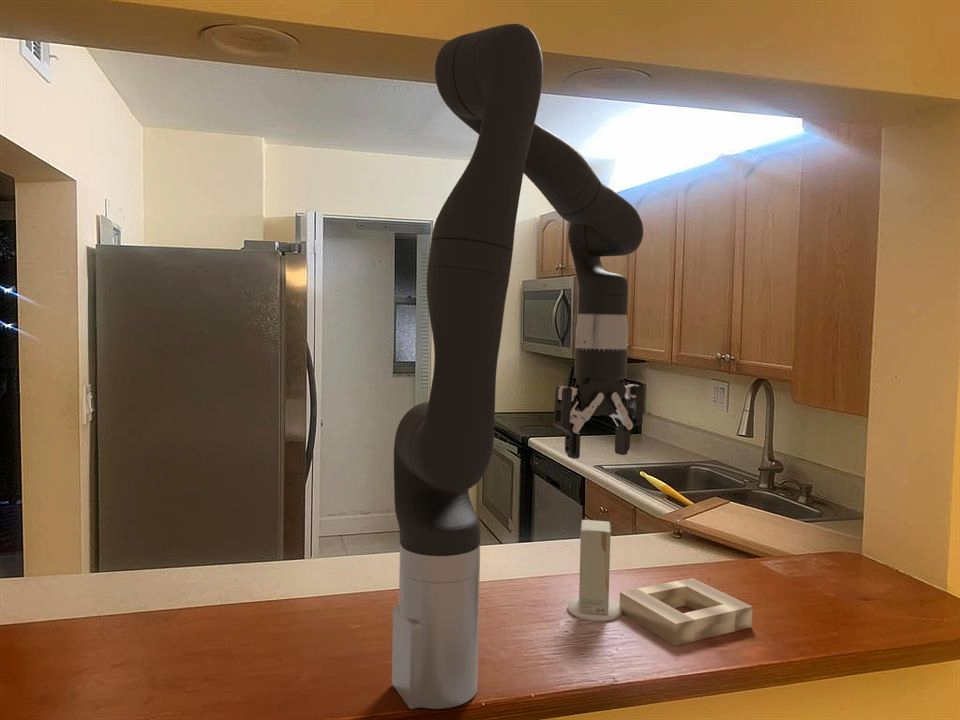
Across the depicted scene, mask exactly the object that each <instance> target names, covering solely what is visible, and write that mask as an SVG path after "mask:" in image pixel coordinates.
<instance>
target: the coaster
mask: <svg viewBox="0 0 960 720" xmlns="http://www.w3.org/2000/svg"><path fill="white" fill-rule="evenodd" d="M619 605H620V602H617V601H616V600H614V599H612V598H609V607H608V614H607V615H604V614H593V613H582V612H579V596H575V597H573V598H571V599H569V601H568V602H567V610H568V612H569V613H570V614H571V615H572V616H574V617H576V618H578V619H582V620H586V621H590V622H601V623H602V622H611V621H615V620H617V619H619V618H621V616H622V615H623V614H622V609H621V608H619Z"/></svg>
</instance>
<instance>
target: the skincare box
mask: <svg viewBox="0 0 960 720" xmlns="http://www.w3.org/2000/svg"><path fill="white" fill-rule="evenodd" d="M611 528H612V527H611V522H610V521H605V520H594V519H593V520H592V519H582V520H581V524H580V545H579V547H580V550H579V583H578V584H579V585H578V586H579V588H578V589H579V592H578V597H579V612H582V613H593V614H604V615H607V614H608V607H609V599H610V596H609V595H610V569H611V568H610V565H611V563H610V562H611V561H610V559H611V557H610V556H611V533H612V532H611V530H612V529H611Z"/></svg>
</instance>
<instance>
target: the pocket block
mask: <svg viewBox="0 0 960 720" xmlns="http://www.w3.org/2000/svg"><path fill="white" fill-rule="evenodd" d="M619 604H620V605H619V608H621V609H622V615H624V616H625V615H626V617H627V618H629V619H631V620H632V621H634V622H635V621H636V622H635V623H637V624H639V625H640V626H642V627H643V626H644V628H645V629H647V630H648V631H650V632H651V633H654V634H655V635H656V636H658V637H660V638H661V639H663V640H665V642H668V643H670V644H671V645H673V646H675V647H676V646H680V645H684V644H688V643H693V642H697V641H701V640H705V639H709V638H713V637H717V636H721V635H724V634H729V633H733V632H737V631H742V630H745V629H750V628H752V626H753V625H752V624H753V605H750V604H748V603H746V602H744V601H743V600H742V601H741V600H739V599H737V598H735V597H734V596H731V595H729V594H727V593H726V592H722V591H721V590H718V589H717V588H714V587H712V586H710V585H708V584H706V583H703V582H701V581H699V580H697V579H695V578H693V577H690V578H685V579H681V580H679V579H678V580H674V581H669V582H665V583H660V584H654V585H649V586H644V587H639V588H638V587H637V588H633V589H628V590H623V591H622V590H621V591H619ZM685 606H686V607H688V608H690V609H692V611H687V612H684V613H683V612H681V611H680V610H678V609H676V608H680V607H685Z"/></svg>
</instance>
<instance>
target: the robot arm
mask: <svg viewBox="0 0 960 720" xmlns="http://www.w3.org/2000/svg"><path fill="white" fill-rule="evenodd" d="M540 46H541V45H540V43H539V41H538V38H537V37H536V35H535V33H534V32H533V31H532V30H531V28H529V27H527V26H525V25H524V24H521V23H506V24H501V25H496V26H493V27H488V28H484V29H480V30H477V31H473V32H470V33H469V32H468V33H466V34H461V35H459V36H457V37H454V38H452V39H450V40H448V41H446V43H444V45H442V46H441V48H440V50H439V51H438V53H437V56H436V60H435V66H434V78H435V83H436V87H437V90H438V93H439V95H440V97H441V99H442V100H443V102H444V103H445V105H446V107H448V109H449V110H450V111H451V112H452V114H454V115H455V117H457V118H458V119H459V120H460V121H462V122H463V123H464V124H466V126H468V128H470V129H471V130H472V131H474V132H475V133H477V134H478V139H477V142H476V145H475V148H474V151H473V153H472V156H471V158H470V160H469V162H468V164H467V166H466V168H465V169H464V172H463V173H462V174H461V176H460V177H459V179H458V180H457V182H456V183H455V185H454V187H453V188H452V190H451V191H450V193H449V195H448V197H447V198H446V200H445V202H444V204H443V205H442V207H441V208H440V211H439V213H438V215H437V217H436V219H435V222H434V226H433V228H432V232H431V233H432V234H431V241H430V247H429V255H428V263H427V269H426V271H427V272H426V299H427V307H428V315H429V322H430V326H431V327H430V328H431V333H432V340H433V348H434V358H433V359H434V362H433V364H434V365H433V374H432V381H431V388H430V392H429V393H430V394H429V399H428V401H425V402H421V403H418V404H417V405H414V406H412V408H410V409H409V410H408V411H406V412H405V414H404V415H403V417H402V418H401V420H400V421H399V424H398V426H397V428H396V432H395V437H394V444H393V492H394V495H393V496H394V498H393V499H394V511H395V516H396V520H397V524H398V528H399V573H398V575H399V577H398V578H399V579H398V580H399V583H398V584H399V587H398V589H399V591H398V592H399V593H398V604H395V605H393V606H392V647H391V648H392V650H391V651H392V657H391V658H392V659H391V662H392V664H391V665H392V666H391V667H392V668H391V669H392V670H391V685H392V687H393V688H394V690H396V692H397V693H398V695H399V696H400V697H401V699H402V700H403V702H404V703H405V704H406V706H407V707H408V709H410V710H414V709H418V708H419V709H420V708H423V709H431V710H441V709H451V708H454V707H458V706H461V705H463V704H466V703H467V702H469V701H470V700H472V699H473V698H474V697H475V695H476V694H477V693H478V683H479V681H478V680H479V679H478V677H479V625H480V622H479V620H480V617H479V616H480V576H481V575H480V573H481V572H480V570H481V567H480V566H481V522H480V519H479V517H478V515H477V513H476V511H475V509H474V507H473V504H472V501H471V499H470V498H471V497H470V494H469V493H470V492H469V490H470V489H471V488H473V487H475V485H477V483H479V481H481V479H482V478H483V476H484V475H485V474H486V472H487V470H488V468H489V466H490V464H491V460H492V456H493V451H494V444H495V443H494V442H495V422H496V421H495V419H496V418H495V417H496V415H495V414H496V411H495V410H496V384H497V367H498V359H499V351H500V345H501V344H500V343H501V339H502V331H503V323H504V316H505V315H504V313H505V309H506V308H505V307H506V299H507V294H508V288H509V282H510V275H511V270H512V269H511V268H512V262H513V261H512V259H513V252H514V243H515V242H514V241H515V230H516V224H517V223H516V222H517V218H518V217H517V215H518V208H519V201H520V197H521V196H520V195H521V191H522V186H523V185H522V184H523V179H524V175H525V176H526V177H527V178H528V179H529V180H530V182H532V183H533V185H534V186H535V187H536V188H537V189H538V190H539V191H540V193H541V194H542V195H543V196H544V197H545V199H546V200H547V201H548V203H549V204H550V205H551V206H552V208H553V209H554V210H555V211H556V212H557V214H558V215H559V216H560V217H561V218H562V219H563V220H564V221H566V222H568V223H569V225H568V244H569V248H570V253H571V256H572V261H573V264H574V271H575V274H576V278H577V283H578V304H577V305H578V309H577V310H578V312H577V321H576V325H575V326H576V327H575V344H574V345H575V348H574V350H575V351H574V376H575V379H576V381H575V385H574V387H570V386H563V385H557V386H556V387H555V396H554V409H553V420H552V424H553V426H554V427H556V428H559V429H562V431H564V451H565V454H566V455H567V457H568V458H571V459H574V460H576V459H577V460H578V459H579V458H580V457H581V433H580V431H581V429H582V427H583V426H584V425H585V423H586V422H588V421H589V420H590V419H591V417H600V416H602V415H604V416H609V417H610V418H612V421H613V422H614V423H615V425H616V426H617V428H615V431H614V432H615V433H614V453H615V454H617V455H620V456H626V455H627V456H628V452H629V451H630V447H631V431H632V429H633V428H634V427H635V426H641V425H642V424H643V419H644V416H643V387H642V386H641V385H638V384H633V383H631V384H630V383H627V385H625V379H626V378H627V375H628V374H627V373H628V372H627V371H628V349H629V348H628V346H629V344H628V343H629V327H628V315H627V314H628V300H629V299H628V294H629V292H628V291H629V290H628V288H629V285H628V280H627V278H626V277H625V276H624V275H623V274H619V273H615V272H610V271H606V269H605V268H604V266H603V264H602V260H601V257H625V256H628V255H630V254H632V253H634V252H635V251H636V250H638V248H639V247H640V245H641V243H642V241H643V237H644V225H643V222H642V221H643V220H642V218H641V216H640V214H639V212H638V211H637V209H636V208H635V207H634V206H633V205H632V204H631V203H630V202H629V201H628V200H627V199H625V198H624V197H623V196H622V195H620V194H618V193H617V192H616V191H614V190H613V189H612V188H611V187H609V186H607V185H606V184H604V183H603V182H601V180H600V179H599V177H598V176H597V174H596V172H595V171H594V170H593V168H592V167H591V166H590V165H589V163H588V161H587V159H586V158H584V156H583V155H582V154H581V153H580V152H579V151H578V150H577V149H576V148H575V147H574V146H572V145H571V144H570V143H568V142H567V141H565V140H564V139H562V138H561V137H559V136H557V135H556V134H554V133H553V132H551V131H549V130H548V129H546V128H544V127H542V126H541V125H539V124H538V123H537V122H536V119H537V114H538V110H539V105H540V101H541V97H542V96H541V95H542V88H543V81H544V80H543V77H544V61H543V55H542V54H543V53H542V48H541V47H540ZM624 398H625V405H624V404H623V401H622V400H623V399H624ZM574 400H576V402H575V403H574V405H573V407H572V402H573V401H574Z"/></svg>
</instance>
